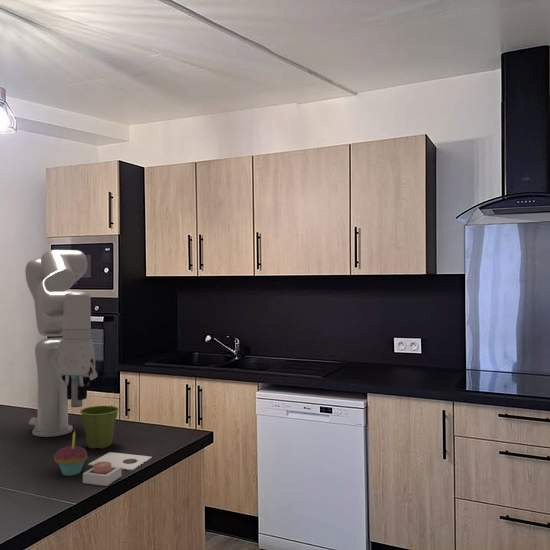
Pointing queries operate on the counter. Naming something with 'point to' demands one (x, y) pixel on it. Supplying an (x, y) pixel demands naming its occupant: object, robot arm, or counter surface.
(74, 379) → the marker
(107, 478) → the button housing
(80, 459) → the cupcake
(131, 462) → the paper
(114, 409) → the plant pot
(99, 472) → the button
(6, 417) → the counter surface
